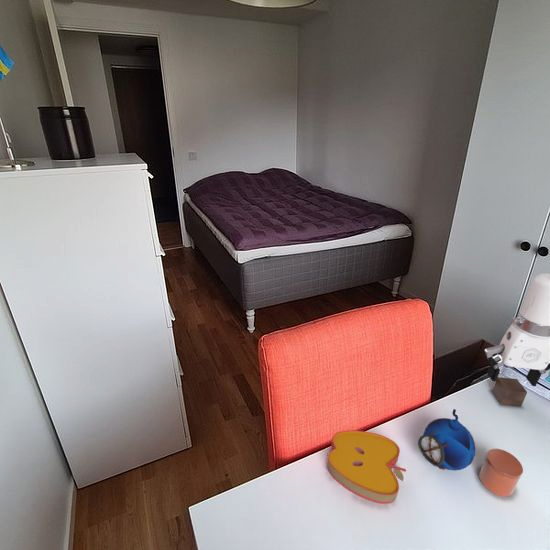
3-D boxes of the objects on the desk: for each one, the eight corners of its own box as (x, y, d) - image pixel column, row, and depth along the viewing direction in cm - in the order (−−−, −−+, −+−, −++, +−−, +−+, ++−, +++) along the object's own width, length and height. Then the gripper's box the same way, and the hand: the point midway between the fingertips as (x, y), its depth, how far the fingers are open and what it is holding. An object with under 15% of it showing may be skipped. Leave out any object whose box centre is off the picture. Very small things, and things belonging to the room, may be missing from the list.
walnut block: (511, 393, 93) (517, 378, 91) (521, 407, 88) (527, 392, 86) (491, 391, 93) (497, 376, 91) (500, 405, 89) (506, 390, 87)
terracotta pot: (504, 470, 72) (513, 450, 69) (519, 498, 66) (529, 478, 64) (474, 466, 72) (482, 446, 70) (486, 494, 67) (496, 474, 64)
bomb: (405, 451, 75) (419, 399, 69) (440, 434, 79) (456, 384, 73) (442, 491, 67) (461, 436, 61) (478, 470, 72) (500, 417, 65)
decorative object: (321, 488, 67) (402, 516, 62) (323, 475, 65) (406, 503, 61) (334, 434, 79) (402, 455, 74) (336, 421, 77) (406, 442, 73)
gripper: (505, 329, 79) (482, 386, 86) (585, 337, 77) (555, 394, 84) (490, 312, 85) (470, 366, 93) (563, 319, 84) (537, 374, 91)
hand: (510, 380), depth 88 cm, fingers open, 9 cm apart
